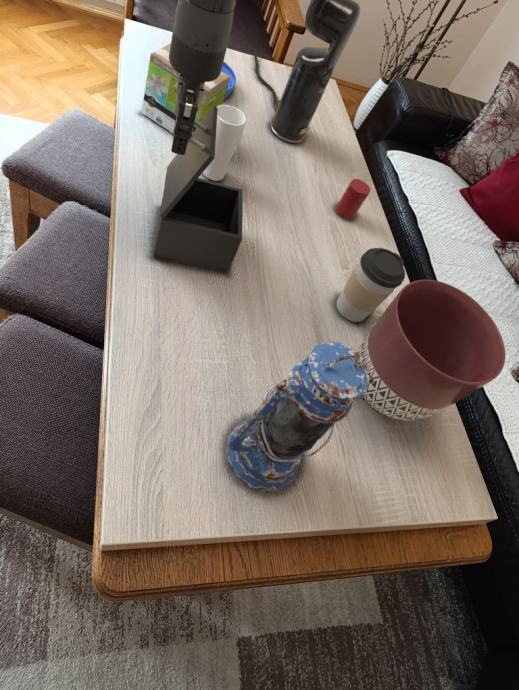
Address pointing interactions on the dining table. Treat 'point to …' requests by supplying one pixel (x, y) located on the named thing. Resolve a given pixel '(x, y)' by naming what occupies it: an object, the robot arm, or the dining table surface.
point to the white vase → (225, 140)
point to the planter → (429, 351)
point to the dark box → (202, 227)
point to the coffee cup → (370, 283)
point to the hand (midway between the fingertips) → (179, 139)
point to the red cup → (352, 199)
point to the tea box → (163, 91)
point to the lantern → (296, 416)
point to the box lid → (190, 162)
